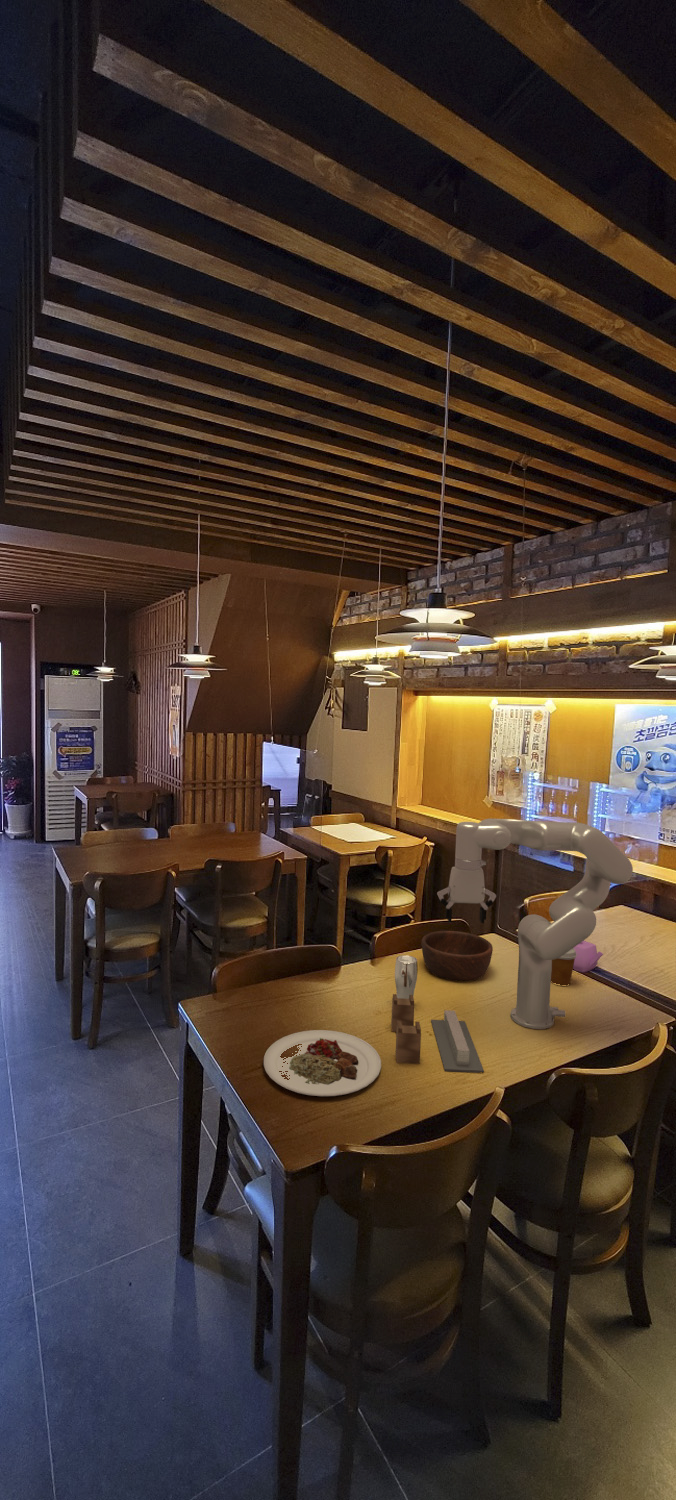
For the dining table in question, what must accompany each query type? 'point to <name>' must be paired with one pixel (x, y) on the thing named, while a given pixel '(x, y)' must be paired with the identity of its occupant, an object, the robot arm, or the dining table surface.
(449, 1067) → the mat
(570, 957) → the disposable coffee cup
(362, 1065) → the plated food
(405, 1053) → the post
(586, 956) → the teapot
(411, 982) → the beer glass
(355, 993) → the dining table surface
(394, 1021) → the post
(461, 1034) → the rail
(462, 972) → the wooden bowl
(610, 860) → the robot arm
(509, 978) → the dining table surface
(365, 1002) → the dining table surface
